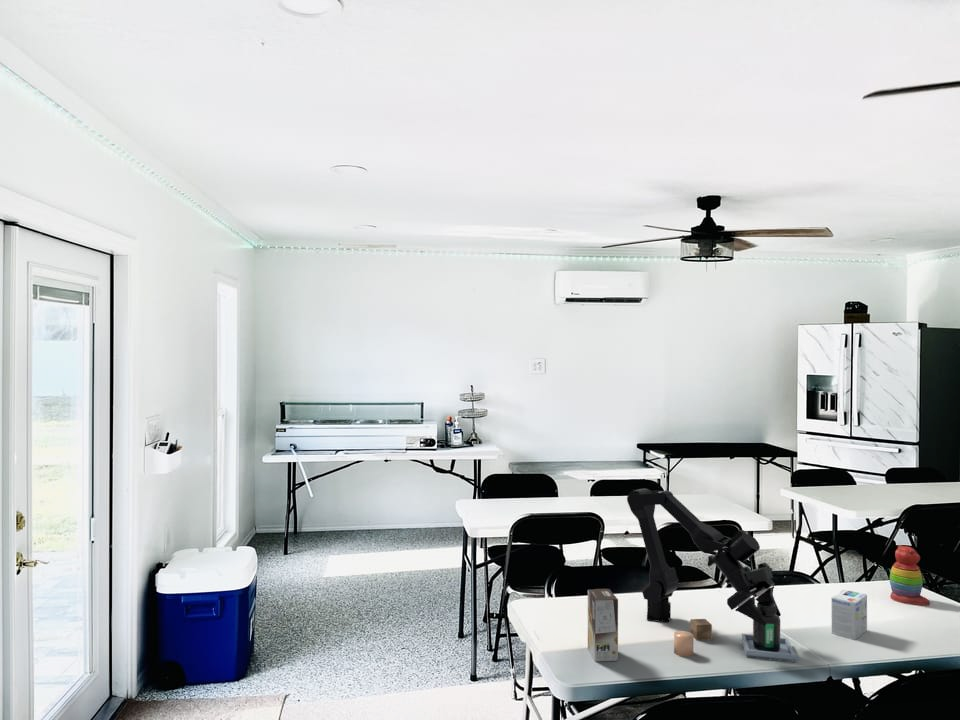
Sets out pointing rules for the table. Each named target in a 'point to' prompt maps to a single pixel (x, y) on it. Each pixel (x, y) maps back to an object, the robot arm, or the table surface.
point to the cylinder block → (683, 643)
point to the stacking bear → (907, 577)
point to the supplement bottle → (767, 628)
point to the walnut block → (701, 629)
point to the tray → (783, 655)
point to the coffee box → (603, 625)
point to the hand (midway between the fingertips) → (772, 620)
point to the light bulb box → (849, 614)
